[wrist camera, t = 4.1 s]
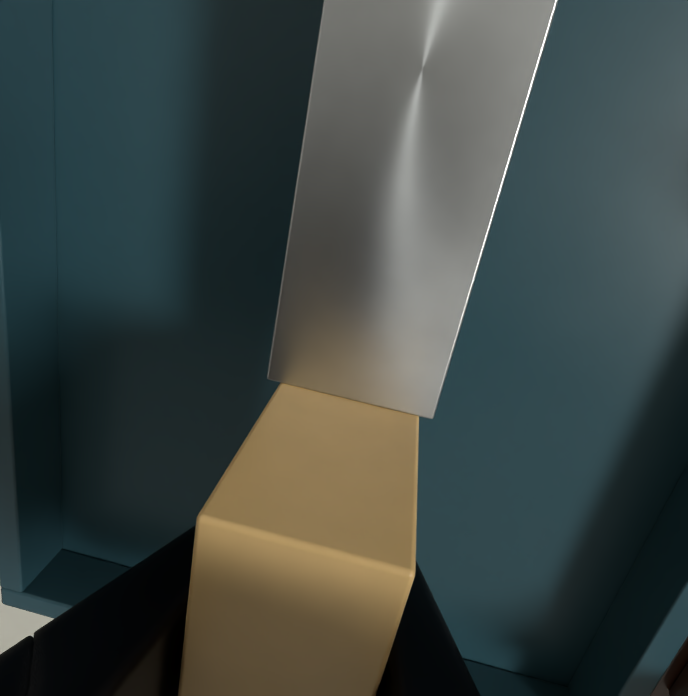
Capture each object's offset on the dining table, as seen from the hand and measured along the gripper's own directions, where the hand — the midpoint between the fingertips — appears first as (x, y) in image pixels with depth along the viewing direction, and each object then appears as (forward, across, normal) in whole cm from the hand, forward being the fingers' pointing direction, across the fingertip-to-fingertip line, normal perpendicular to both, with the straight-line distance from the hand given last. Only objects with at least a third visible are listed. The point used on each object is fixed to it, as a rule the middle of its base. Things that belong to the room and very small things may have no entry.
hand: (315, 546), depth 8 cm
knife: (+1, 0, -4) cm, 4 cm away
